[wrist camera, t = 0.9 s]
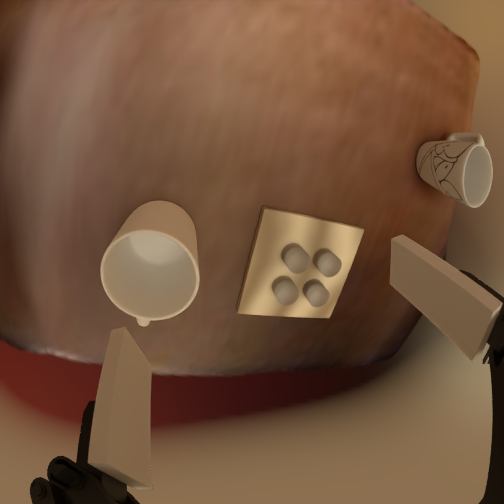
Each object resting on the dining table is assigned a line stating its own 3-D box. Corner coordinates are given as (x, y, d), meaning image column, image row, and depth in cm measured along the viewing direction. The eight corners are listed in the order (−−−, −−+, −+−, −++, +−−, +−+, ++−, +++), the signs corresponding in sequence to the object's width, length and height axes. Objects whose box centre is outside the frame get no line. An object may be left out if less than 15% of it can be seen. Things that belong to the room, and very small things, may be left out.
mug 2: (434, 110, 30) (485, 115, 21) (457, 147, 33) (503, 159, 24) (401, 164, 32) (455, 179, 24) (427, 199, 36) (475, 220, 27)
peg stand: (236, 308, 36) (240, 325, 33) (262, 206, 31) (270, 214, 28) (326, 314, 40) (336, 328, 37) (360, 227, 35) (374, 236, 32)
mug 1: (180, 299, 34) (179, 357, 25) (117, 284, 31) (97, 339, 22) (205, 208, 30) (211, 244, 21) (133, 190, 27) (106, 219, 18)
